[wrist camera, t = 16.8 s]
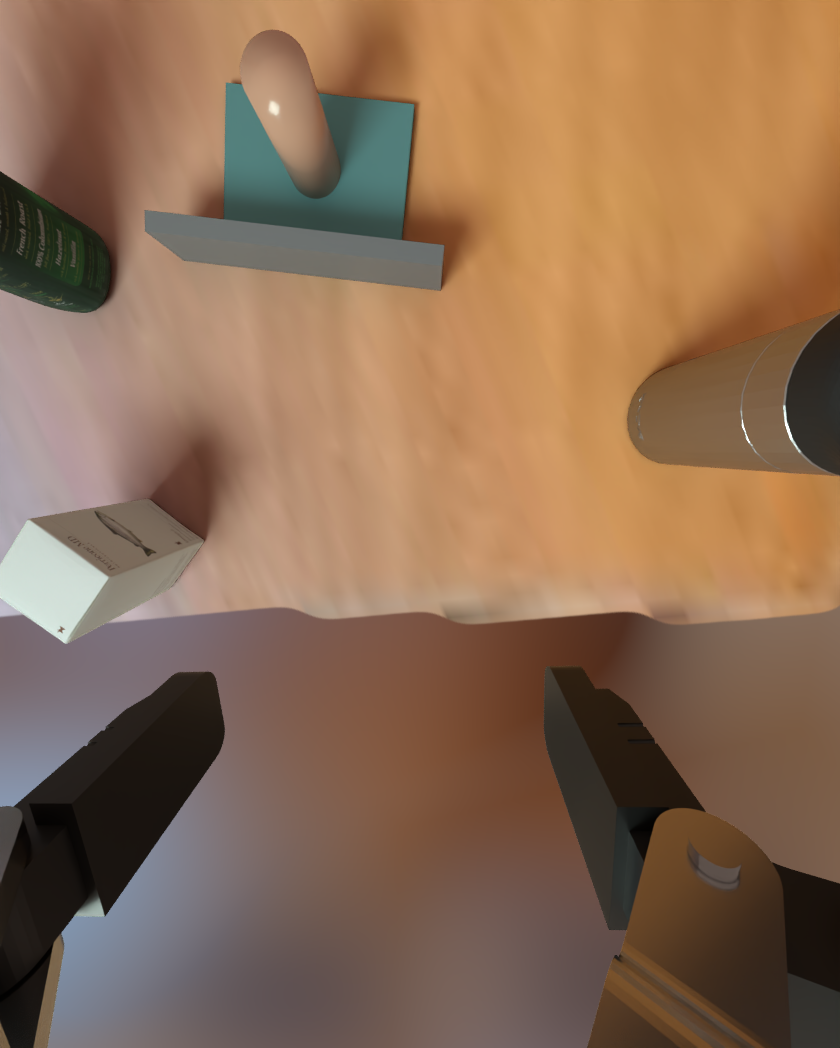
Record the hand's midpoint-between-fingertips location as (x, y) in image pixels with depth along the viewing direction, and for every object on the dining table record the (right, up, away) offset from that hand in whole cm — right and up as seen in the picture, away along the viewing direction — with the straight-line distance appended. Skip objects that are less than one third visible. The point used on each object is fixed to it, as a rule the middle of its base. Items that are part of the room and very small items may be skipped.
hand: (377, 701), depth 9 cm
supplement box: (-27, +2, +32) cm, 42 cm away
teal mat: (-8, +35, +25) cm, 44 cm away
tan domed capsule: (-8, +35, +25) cm, 44 cm away
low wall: (-9, +28, +27) cm, 40 cm away
